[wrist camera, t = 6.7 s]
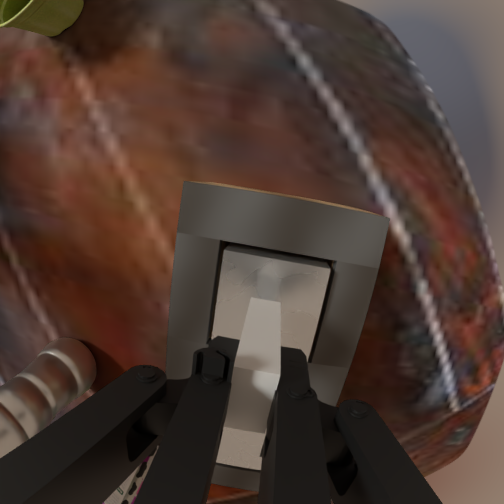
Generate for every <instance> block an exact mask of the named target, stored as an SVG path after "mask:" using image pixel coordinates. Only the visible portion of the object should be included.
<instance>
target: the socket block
mask: <svg viewBox="0 0 504 504" xmlns="http://www.w3.org/2000/svg"><path fill="white" fill-rule="evenodd" d="M389 221H390V218H387V217H384V216H381V215H378V214H375V213H372V212H368V211H365V210H362V209H358V208H354V207H349V206H344V205H339V204H334V203H329V202H324V201H319V200H314V199H309V198H303V197H298V196H292V195H287V194H281V193H276V192H270V191H264V190H258V189H252V188H246V187H239V186H233V185H226V184H220V183H213V182H190V181H184V183H183V190H182V197H181V204H180V212H179V220H178V228H177V236H176V245H175V254H174V263H173V273H172V284H171V295H170V307H169V320H168V335H167V352H166V373H165V374H166V376H167V379H186V378H189V377H190V376H191V374H192V363H193V353H194V352H195V351H196V350H198V349H201V348H207V347H208V346H209V343H210V341H211V340H212V332H213V324H214V317H215V309H216V302H217V295H218V287H219V280H220V273H221V266H222V259H223V252H224V249H225V248H226V247H227V246H228V245H229V244H230V243H231V242H235V243H240V244H246V245H252V246H257V247H263V248H269V249H274V250H280V251H285V252H291V253H296V254H302V255H308V256H313V257H319V258H324V259H325V260H326V262H327V264H328V265H329V267H330V269H331V270H330V274H329V279H328V283H327V287H326V292H325V296H324V300H323V304H322V308H321V312H320V316H319V320H318V324H317V328H316V332H315V336H314V339H313V343H312V347H311V351H310V354H309V358H308V361H307V364H308V372H309V379H310V387H311V388H312V389H313V390H315V392H316V394H317V398H318V400H320V401H321V402H323V403H326V404H328V405H331V406H335V407H336V404H337V401H338V399H339V396H340V394H341V391H342V388H343V385H344V383H345V380H346V377H347V374H348V371H349V368H350V365H351V363H352V360H353V357H354V354H355V350H356V347H357V344H358V341H359V338H360V335H361V331H362V328H363V325H364V322H365V318H366V315H367V311H368V308H369V304H370V301H371V297H372V293H373V289H374V286H375V282H376V278H377V274H378V270H379V266H380V262H381V257H382V253H383V249H384V244H385V240H386V235H387V230H388V225H389ZM260 474H261V470H256V469H250V468H244V467H238V466H232V465H227V464H222V463H217V462H216V464H215V468H214V473H213V477H212V481H211V483H212V484H217V485H222V486H227V487H233V488H238V489H245V490H251V491H258V492H259V484H260Z"/></svg>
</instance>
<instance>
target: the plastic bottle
mask: <svg viewBox="0 0 504 504" xmlns="http://www.w3.org/2000/svg"><path fill="white" fill-rule="evenodd" d="M96 374H97V370H96V362H95V359H94V356H93V355H92V353H91V351H90V350H89V349H88V348H87V347H86V346H85V345H84V344H83V343H82V342H80V341H78V340H76V339H73V338H68V337H62V338H59V339H56V340H54V341H52V342H50V343H49V344H47V345H46V347H45V348H44V349H43V350H42V351H41V352H40V354H39V355H38V356H37V358H36V359H35V360H34V361H33V362H31V363H30V364H29V365H28V366H27V367H26V368H25V369H24V370H23V371H22V372H21V373H20V374H18V375H17V376H15V378H12V379H11V380H10V381H8V382H7V383H5V384H4V385H2V386H0V458H1V457H3V456H4V455H6V454H7V453H9V452H10V451H12V450H13V449H15V448H16V447H18V446H19V445H21V444H22V443H24V442H25V441H27V440H28V439H30V438H31V437H33V436H34V435H36V434H37V433H39V432H40V431H42V430H43V429H44V428H46V427H47V426H48V425H49V424H50V422H51V421H52V420H53V419H54V417H55V416H56V415H57V414H58V413H59V412H60V411H61V410H62V409H64V408H65V407H66V406H67V405H68V404H69V403H71V402H72V401H73V400H74V399H76V398H78V397H80V396H81V395H83V394H84V393H85V392H86V391H88V390H89V389H90V387H91V385H92V384H93V382H94V380H95V378H96Z"/></svg>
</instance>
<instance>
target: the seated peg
mask: <svg viewBox="0 0 504 504" xmlns="http://www.w3.org/2000/svg"><path fill="white" fill-rule="evenodd" d="M266 428H267V427H266ZM265 436H266V431H265V434H263V433H257V432H250V431H244V430H239V429H233V428H228V427H224V428H223V433H222V439H221V443H220V447H219V451H218V456H217V460H216V462H217V463H222V464H227V465H232V466H238V467H244V468H250V469H256V470H261V463H262V457H259V456H260V453H261V449H262V446H263V443H264V439H265Z"/></svg>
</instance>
